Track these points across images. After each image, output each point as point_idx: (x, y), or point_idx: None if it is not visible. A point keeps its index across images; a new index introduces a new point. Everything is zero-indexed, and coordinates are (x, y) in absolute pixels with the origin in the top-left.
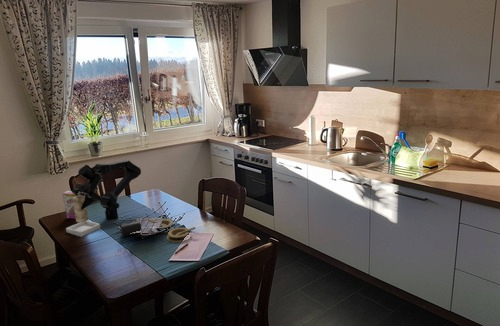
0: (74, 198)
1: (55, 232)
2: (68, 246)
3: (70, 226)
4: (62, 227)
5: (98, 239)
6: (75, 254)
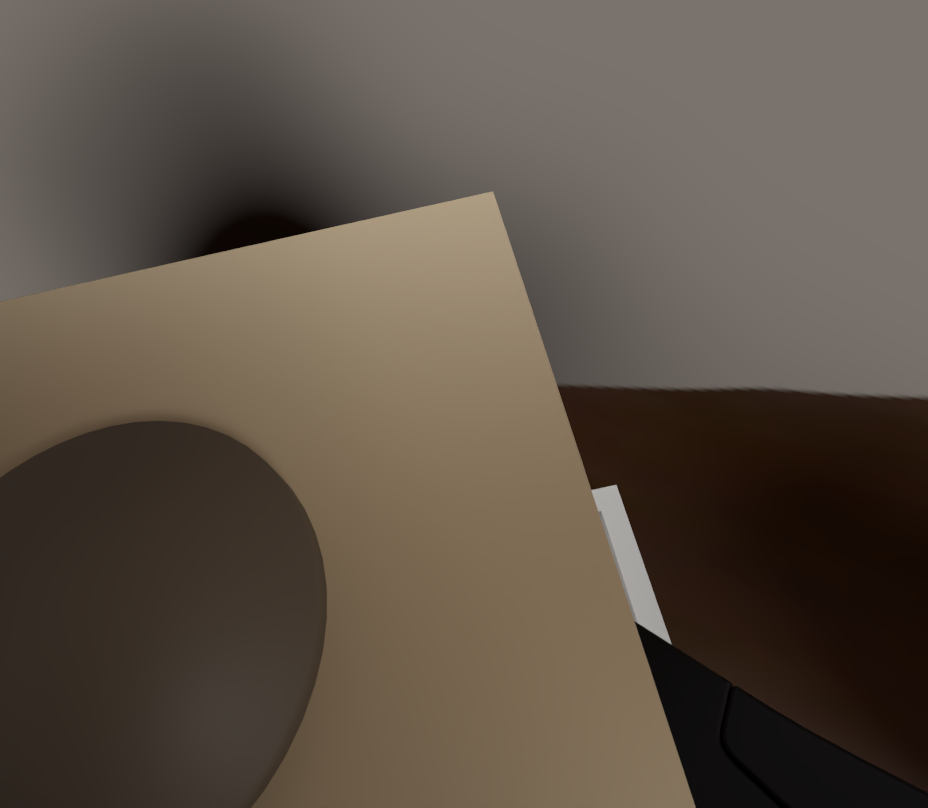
0: (197, 270)
1: (722, 414)
2: None
3: (636, 560)
4: (858, 538)
5: None
6: None
